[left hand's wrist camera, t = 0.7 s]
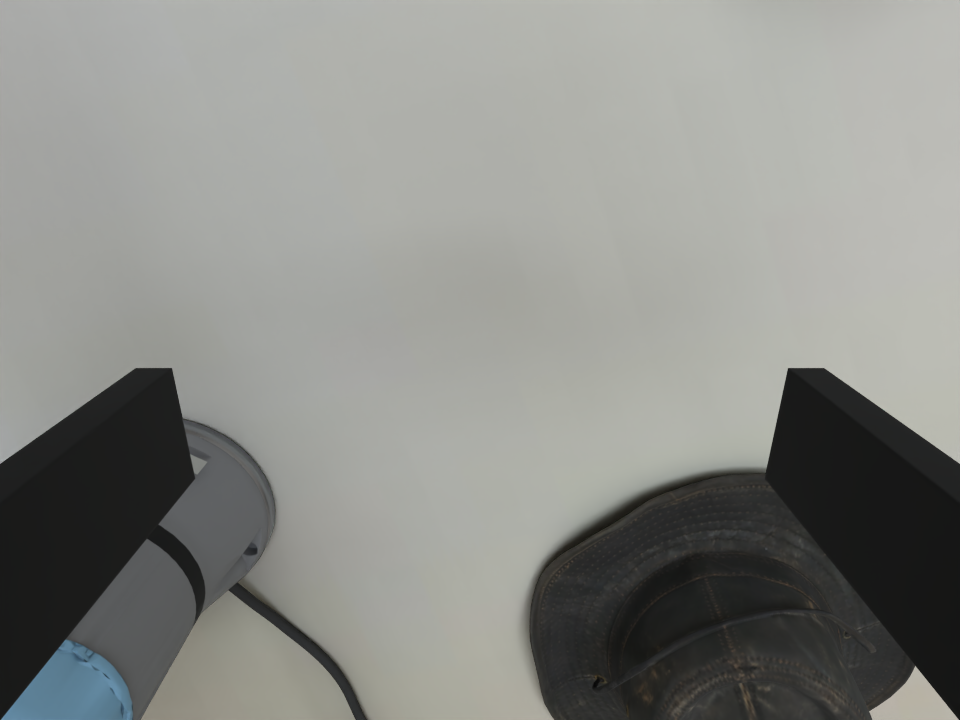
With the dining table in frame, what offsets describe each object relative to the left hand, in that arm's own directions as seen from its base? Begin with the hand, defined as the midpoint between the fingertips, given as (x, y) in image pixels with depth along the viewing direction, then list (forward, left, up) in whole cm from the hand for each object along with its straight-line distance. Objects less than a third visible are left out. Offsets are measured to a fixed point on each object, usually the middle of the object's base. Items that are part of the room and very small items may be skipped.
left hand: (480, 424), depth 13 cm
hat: (+36, +21, -28) cm, 50 cm away
